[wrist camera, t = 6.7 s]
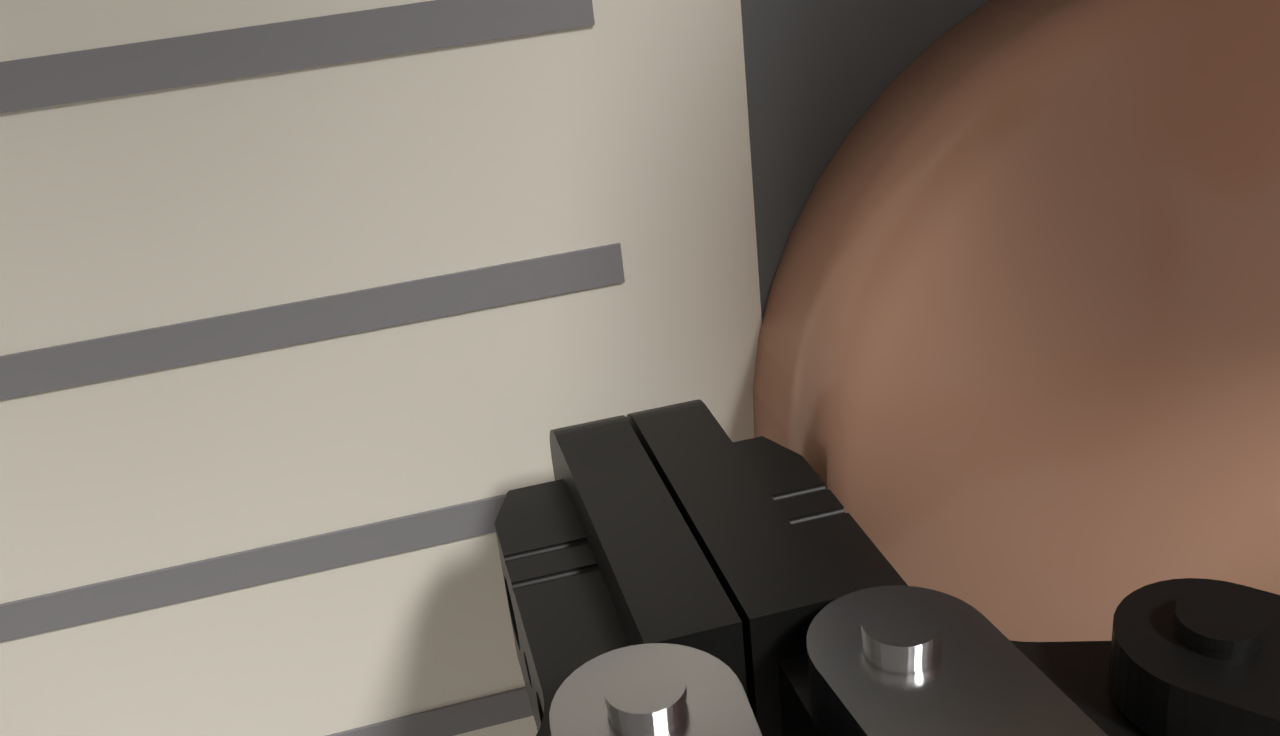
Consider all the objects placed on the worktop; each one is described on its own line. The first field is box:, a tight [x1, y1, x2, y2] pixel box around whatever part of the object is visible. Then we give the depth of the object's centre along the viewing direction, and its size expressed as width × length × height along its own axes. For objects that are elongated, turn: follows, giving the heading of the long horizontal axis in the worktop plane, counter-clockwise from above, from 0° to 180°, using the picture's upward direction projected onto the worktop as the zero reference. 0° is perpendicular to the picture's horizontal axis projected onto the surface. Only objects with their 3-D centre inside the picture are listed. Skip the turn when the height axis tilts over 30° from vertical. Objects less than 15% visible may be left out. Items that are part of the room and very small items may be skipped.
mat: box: [0, 0, 990, 736], centre depth 14 cm, size 17×26×1 cm, turn 96°
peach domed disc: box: [753, 0, 1280, 642], centre depth 13 cm, size 9×9×2 cm
